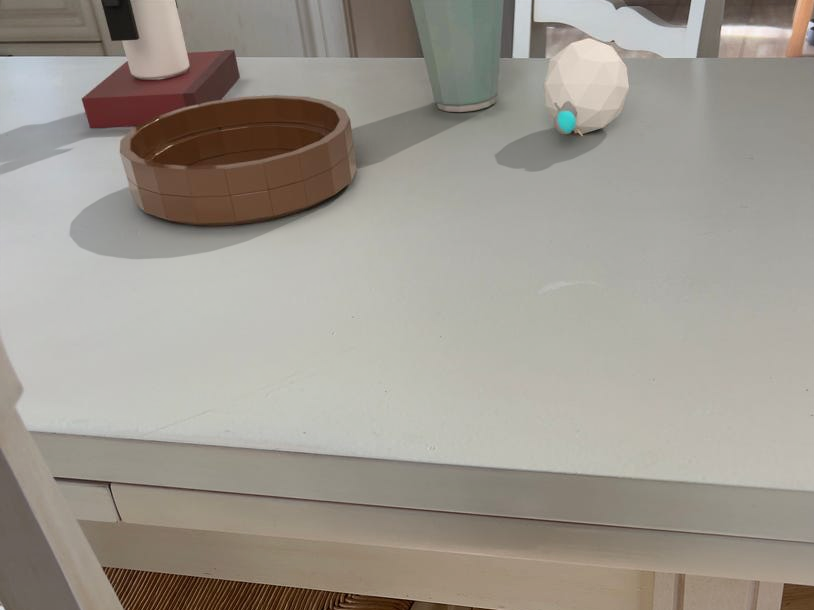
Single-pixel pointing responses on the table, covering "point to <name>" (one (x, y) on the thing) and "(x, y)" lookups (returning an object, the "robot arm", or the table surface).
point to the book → (160, 91)
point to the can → (156, 41)
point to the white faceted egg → (585, 86)
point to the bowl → (239, 159)
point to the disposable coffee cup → (461, 50)
